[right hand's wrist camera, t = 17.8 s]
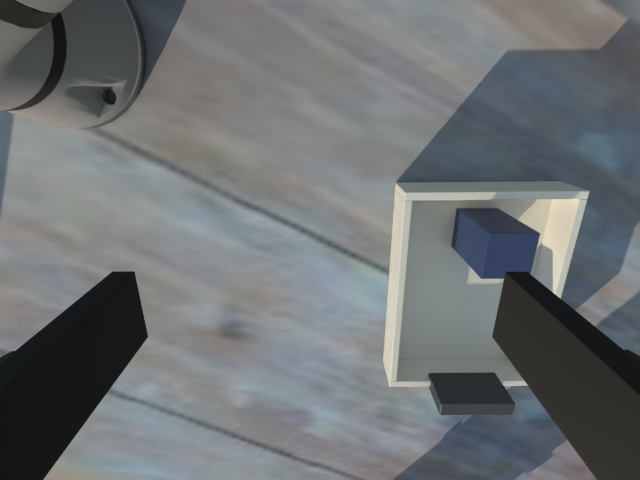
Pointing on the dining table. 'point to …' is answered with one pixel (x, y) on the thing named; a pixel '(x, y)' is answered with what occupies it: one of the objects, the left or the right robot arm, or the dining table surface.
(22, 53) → the right robot arm
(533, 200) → the drawer
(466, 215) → the pillar
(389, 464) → the dining table surface
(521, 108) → the dining table surface
